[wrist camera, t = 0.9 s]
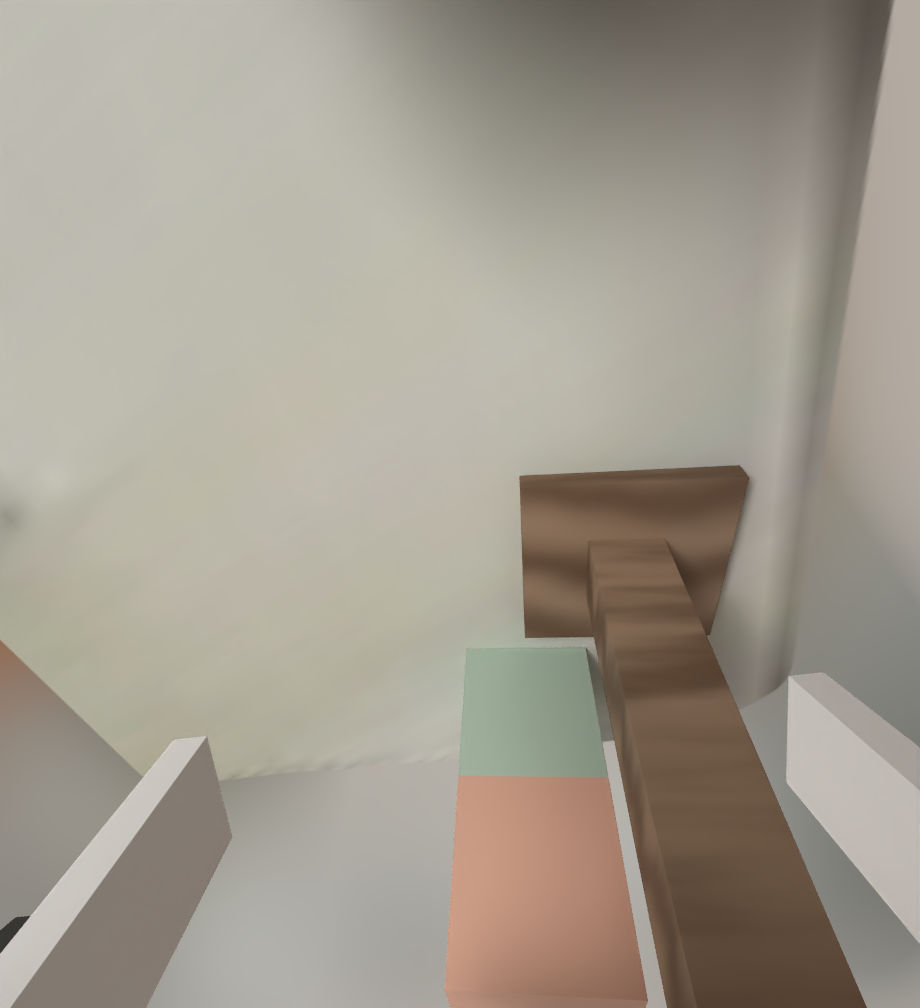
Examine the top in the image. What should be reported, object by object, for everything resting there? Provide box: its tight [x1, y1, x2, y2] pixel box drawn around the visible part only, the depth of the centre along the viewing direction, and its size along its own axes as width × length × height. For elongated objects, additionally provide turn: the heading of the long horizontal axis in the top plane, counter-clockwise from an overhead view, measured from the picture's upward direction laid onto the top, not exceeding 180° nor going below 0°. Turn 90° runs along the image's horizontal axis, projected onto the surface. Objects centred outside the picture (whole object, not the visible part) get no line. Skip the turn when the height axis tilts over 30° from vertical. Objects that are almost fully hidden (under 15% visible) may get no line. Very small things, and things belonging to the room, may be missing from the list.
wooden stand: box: [520, 466, 867, 1008], centre depth 26 cm, size 14×14×30 cm
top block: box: [445, 776, 648, 1008], centre depth 33 cm, size 8×10×11 cm
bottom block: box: [458, 647, 608, 777], centre depth 42 cm, size 8×10×11 cm
